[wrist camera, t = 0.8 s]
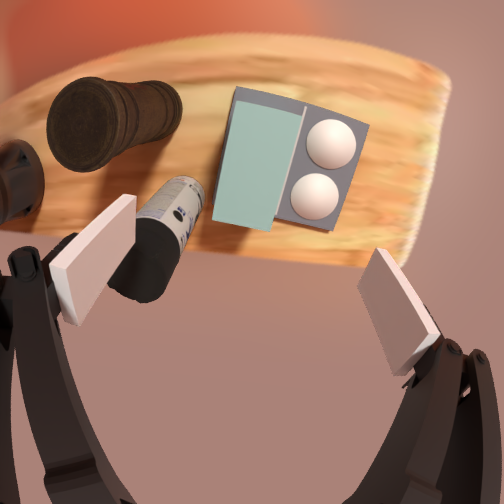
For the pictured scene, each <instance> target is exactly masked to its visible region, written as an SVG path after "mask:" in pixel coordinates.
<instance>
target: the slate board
mask: <svg viewBox="0 0 504 504" xmlns="http://www.w3.org/2000/svg"><path fill="white" fill-rule="evenodd" d="M236 101H242V102H247V103H252V104H257V105H261V106H266V107H270V108H274V109H278V110H282V111H286V112H290V113H293V114H297V115H300V116H302V120H301V123H300V127H299V131H298V134H297V138H296V141H295V145H294V149H293V152H292V156H291V159H290V163H289V167H288V170H287V174H286V177H285V181H284V184H283V188H282V191H281V195H280V198H279V202H278V205H277V209H276V212H275V216H274V217H275V218H279V219H283V220H288V221H292V222H297V223H301V224H305V225H309V226H314V227H318V228H322V229H326V230H330V231H333V230H334V227H335V224H336V222H337V219H338V217H339V214H340V211H341V209H342V206H343V203H344V200H345V198H346V195H347V192H348V189H349V187H350V184H351V181H352V178H353V175H354V172H355V169H356V166H357V163H358V160H359V157H360V154H361V151H362V148H363V145H364V142H365V139H366V135H367V132H368V129H369V126H370V125H368V124H366V123H363V122H361V121H358V120H356V119H353V118H350V117H348V116H345V115H342V114H339V113H336V112H333V111H330V110H327V109H324V108H321V107H318V106H315V105H312V104H308V103H305V102H301V101H298V100H294V99H291V98H287V97H283V96H279V95H275V94H271V93H267V92H262V91H258V90H253V89H248V88H243V87H238V86H236V90H235V95H234V99H233V103H232V107H231V112H230V116H229V121H228V125H227V130H226V134H225V139H224V144H223V148H222V153H221V158H220V163H219V168H218V173H217V178H216V184H215V189H214V194H213V200H212V204H213V205H215V199H216V194H217V189H218V184H219V179H220V174H221V169H222V164H223V159H224V154H225V149H226V144H227V140H228V135H229V131H230V126H231V122H232V117H233V113H234V109H235V104H236Z"/></svg>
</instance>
